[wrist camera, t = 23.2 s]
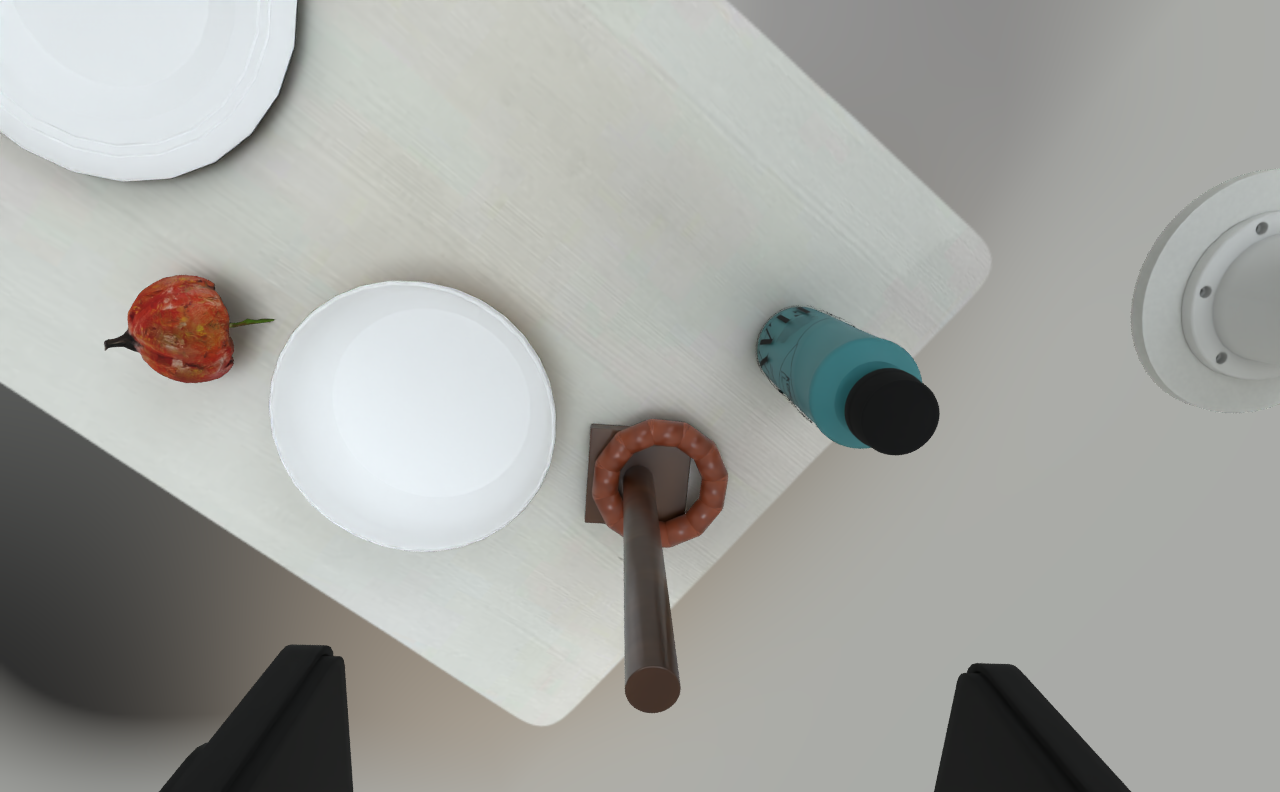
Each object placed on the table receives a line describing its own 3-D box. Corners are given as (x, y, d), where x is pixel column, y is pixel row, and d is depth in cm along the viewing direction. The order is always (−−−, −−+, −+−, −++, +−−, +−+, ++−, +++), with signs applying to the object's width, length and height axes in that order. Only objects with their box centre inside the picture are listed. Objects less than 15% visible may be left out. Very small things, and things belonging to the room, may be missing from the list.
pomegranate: (260, 263, 49) (90, 265, 43) (281, 285, 44) (91, 290, 38) (268, 356, 52) (109, 369, 46) (289, 386, 46) (113, 406, 40)
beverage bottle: (792, 283, 48) (907, 320, 29) (851, 342, 50) (998, 414, 30) (731, 346, 49) (803, 421, 30) (790, 402, 51) (896, 508, 31)
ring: (733, 424, 50) (738, 431, 48) (714, 544, 52) (717, 557, 50) (600, 410, 49) (599, 417, 47) (587, 533, 52) (586, 544, 50)
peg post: (691, 430, 51) (756, 613, 27) (681, 522, 53) (734, 770, 29) (591, 423, 51) (564, 602, 26) (585, 516, 53) (555, 762, 28)
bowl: (271, 446, 50) (224, 475, 44) (373, 224, 46) (337, 223, 40) (494, 555, 53) (478, 596, 47) (608, 355, 49) (607, 372, 43)
